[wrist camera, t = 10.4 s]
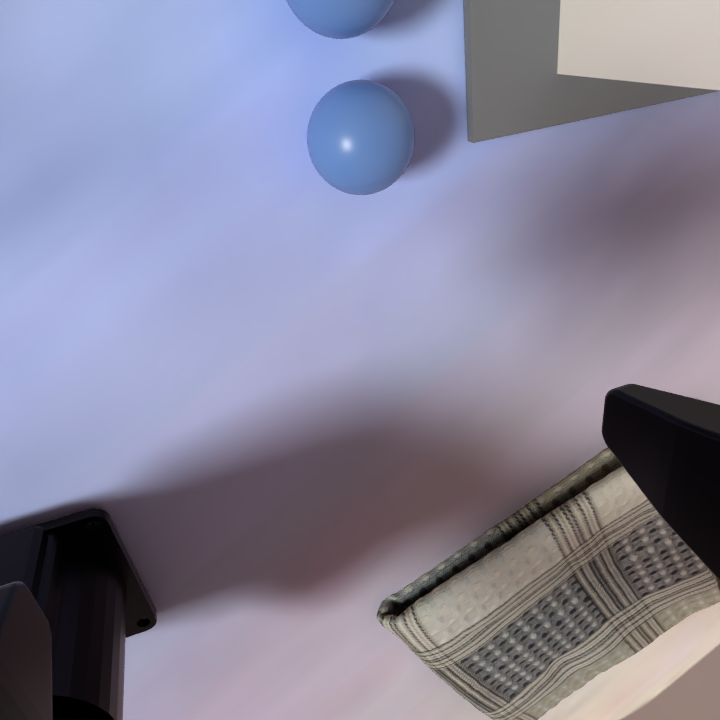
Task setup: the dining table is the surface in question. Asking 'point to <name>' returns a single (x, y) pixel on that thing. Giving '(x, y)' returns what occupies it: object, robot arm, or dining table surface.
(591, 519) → the dish towel
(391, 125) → the marble
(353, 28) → the marble
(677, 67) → the upright cream box
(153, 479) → the dining table surface
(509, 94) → the slate mat
